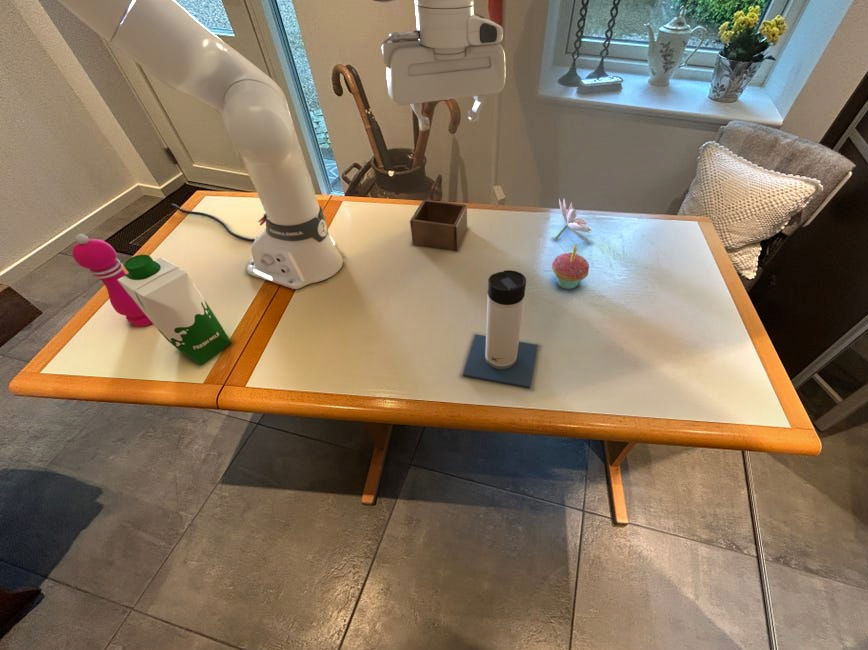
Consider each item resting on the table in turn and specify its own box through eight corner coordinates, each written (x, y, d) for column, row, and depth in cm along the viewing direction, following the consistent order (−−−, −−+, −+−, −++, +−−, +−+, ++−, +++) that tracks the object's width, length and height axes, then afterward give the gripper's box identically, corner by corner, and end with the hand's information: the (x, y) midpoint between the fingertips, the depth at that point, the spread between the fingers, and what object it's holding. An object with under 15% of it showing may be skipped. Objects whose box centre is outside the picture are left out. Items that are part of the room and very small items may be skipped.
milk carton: (211, 326, 85) (155, 244, 70) (239, 342, 82) (186, 261, 67) (172, 351, 80) (102, 270, 65) (200, 370, 77) (133, 289, 62)
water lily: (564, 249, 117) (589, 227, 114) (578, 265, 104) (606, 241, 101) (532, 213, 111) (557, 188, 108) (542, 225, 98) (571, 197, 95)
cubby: (412, 244, 106) (409, 220, 100) (425, 222, 113) (423, 199, 107) (457, 251, 104) (456, 226, 99) (467, 228, 111) (466, 204, 106)
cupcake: (584, 296, 93) (596, 252, 84) (547, 291, 94) (555, 247, 85) (585, 274, 98) (596, 230, 89) (550, 269, 99) (558, 225, 90)
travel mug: (495, 375, 76) (501, 295, 61) (479, 352, 80) (481, 271, 65) (523, 364, 78) (535, 283, 63) (506, 342, 82) (514, 261, 67)
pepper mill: (174, 310, 88) (111, 228, 73) (146, 332, 84) (74, 249, 68) (148, 302, 89) (82, 220, 74) (119, 323, 85) (43, 241, 70)
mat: (462, 376, 77) (462, 374, 77) (475, 336, 84) (475, 334, 84) (529, 388, 75) (530, 386, 75) (536, 346, 82) (537, 344, 82)
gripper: (385, 38, 57) (398, 140, 68) (512, 28, 63) (506, 124, 73) (374, 29, 61) (388, 127, 72) (495, 20, 67) (492, 113, 77)
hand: (449, 125), depth 73 cm, fingers open, 8 cm apart
